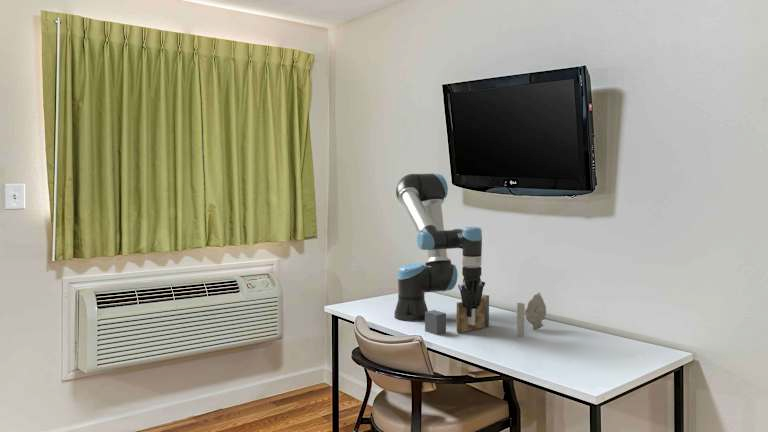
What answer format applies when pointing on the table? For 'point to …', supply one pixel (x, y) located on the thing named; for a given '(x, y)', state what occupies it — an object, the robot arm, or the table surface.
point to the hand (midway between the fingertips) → (471, 324)
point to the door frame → (519, 316)
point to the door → (463, 318)
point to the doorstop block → (435, 322)
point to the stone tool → (536, 311)
